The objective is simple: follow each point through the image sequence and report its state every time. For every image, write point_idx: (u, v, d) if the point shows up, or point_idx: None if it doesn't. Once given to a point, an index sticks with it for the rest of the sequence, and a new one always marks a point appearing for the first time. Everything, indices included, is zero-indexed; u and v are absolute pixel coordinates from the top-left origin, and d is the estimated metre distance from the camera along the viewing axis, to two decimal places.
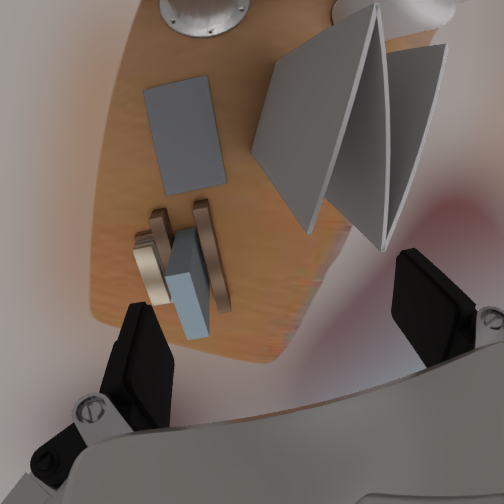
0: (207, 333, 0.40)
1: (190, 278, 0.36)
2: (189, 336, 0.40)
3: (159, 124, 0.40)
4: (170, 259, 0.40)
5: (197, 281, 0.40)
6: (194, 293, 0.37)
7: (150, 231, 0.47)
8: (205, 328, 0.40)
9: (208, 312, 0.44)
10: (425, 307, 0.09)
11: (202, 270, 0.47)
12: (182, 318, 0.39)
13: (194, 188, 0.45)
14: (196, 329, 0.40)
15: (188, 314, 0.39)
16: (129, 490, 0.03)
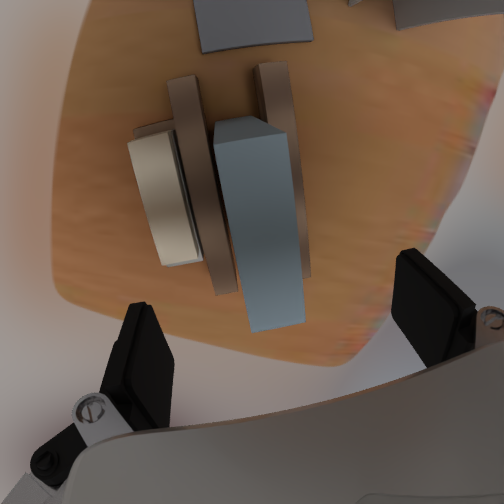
0: (302, 314, 0.17)
1: (286, 153, 0.13)
2: (257, 323, 0.17)
3: None
4: (217, 133, 0.16)
5: None
6: (290, 200, 0.14)
7: (164, 121, 0.23)
8: (301, 302, 0.16)
9: None
10: (425, 307, 0.09)
11: None
12: (247, 275, 0.15)
13: (256, 41, 0.21)
14: (279, 305, 0.16)
15: (265, 263, 0.15)
16: (129, 490, 0.03)
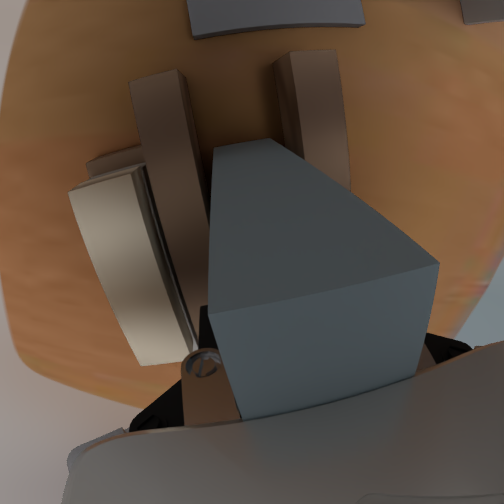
0: None
1: (423, 315, 0.04)
2: None
3: None
4: (218, 200, 0.07)
5: None
6: None
7: (134, 147, 0.15)
8: None
9: None
10: None
11: None
12: None
13: (279, 20, 0.12)
14: None
15: None
16: (129, 490, 0.03)
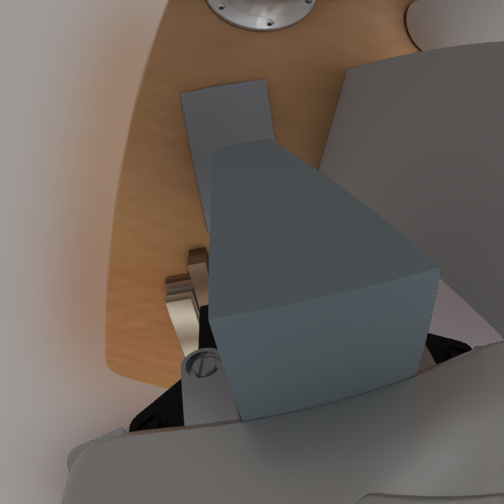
0: None
1: (424, 319, 0.04)
2: None
3: (201, 140, 0.32)
4: (218, 202, 0.07)
5: None
6: None
7: (185, 276, 0.38)
8: None
9: None
10: None
11: None
12: None
13: None
14: None
15: None
16: (129, 490, 0.03)
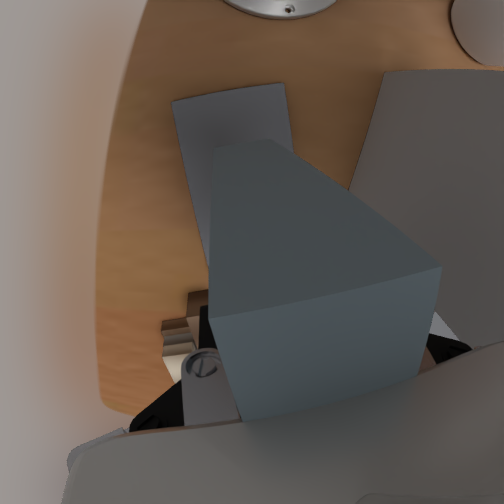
0: None
1: (425, 318, 0.04)
2: None
3: (200, 163, 0.25)
4: (218, 201, 0.07)
5: None
6: None
7: (184, 321, 0.32)
8: None
9: None
10: None
11: None
12: None
13: None
14: None
15: None
16: (129, 490, 0.03)
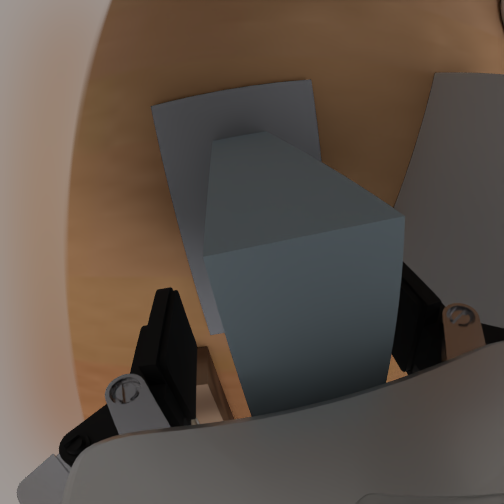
0: None
1: (395, 266, 0.05)
2: None
3: (193, 192, 0.18)
4: (215, 180, 0.08)
5: None
6: (383, 357, 0.06)
7: None
8: None
9: None
10: None
11: None
12: None
13: None
14: None
15: None
16: (129, 490, 0.03)
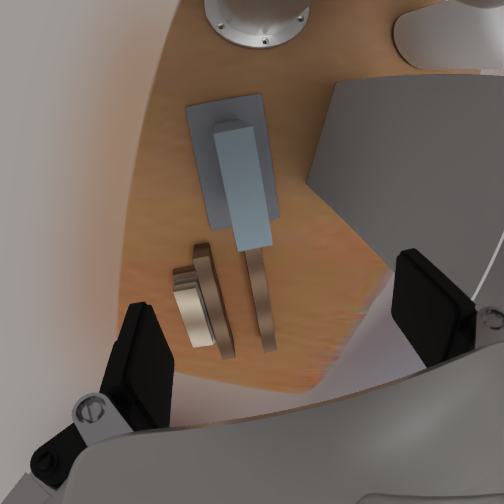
0: (270, 239, 0.27)
1: (253, 137, 0.23)
2: (241, 244, 0.27)
3: (204, 148, 0.36)
4: (215, 129, 0.26)
5: None
6: (257, 164, 0.24)
7: (190, 268, 0.43)
8: (268, 229, 0.26)
9: None
10: (425, 307, 0.09)
11: None
12: (234, 210, 0.25)
13: None
14: (254, 231, 0.26)
15: (244, 202, 0.25)
16: (129, 490, 0.03)
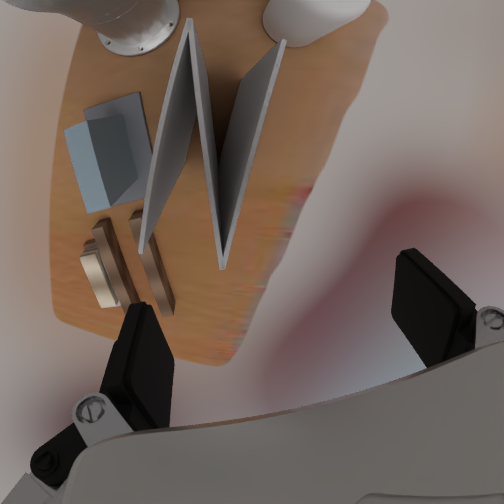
0: (108, 203, 0.32)
1: (87, 128, 0.28)
2: (89, 208, 0.32)
3: None
4: None
5: (103, 145, 0.32)
6: (91, 147, 0.29)
7: None
8: (105, 195, 0.31)
9: (120, 191, 0.36)
10: (425, 307, 0.09)
11: (122, 153, 0.39)
12: (80, 182, 0.30)
13: (132, 199, 0.46)
14: (96, 197, 0.31)
15: (86, 176, 0.30)
16: (129, 490, 0.03)
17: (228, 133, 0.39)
